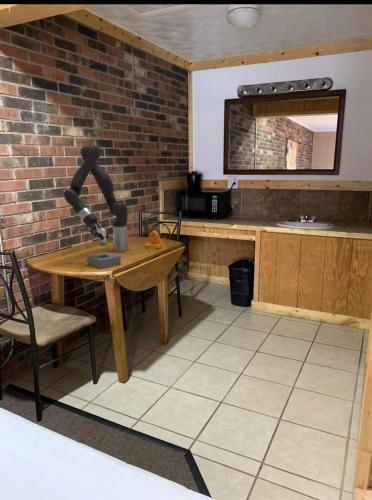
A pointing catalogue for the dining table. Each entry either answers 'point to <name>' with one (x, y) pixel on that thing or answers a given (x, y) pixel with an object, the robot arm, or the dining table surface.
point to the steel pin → (103, 232)
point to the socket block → (103, 260)
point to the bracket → (154, 241)
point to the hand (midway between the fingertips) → (105, 238)
